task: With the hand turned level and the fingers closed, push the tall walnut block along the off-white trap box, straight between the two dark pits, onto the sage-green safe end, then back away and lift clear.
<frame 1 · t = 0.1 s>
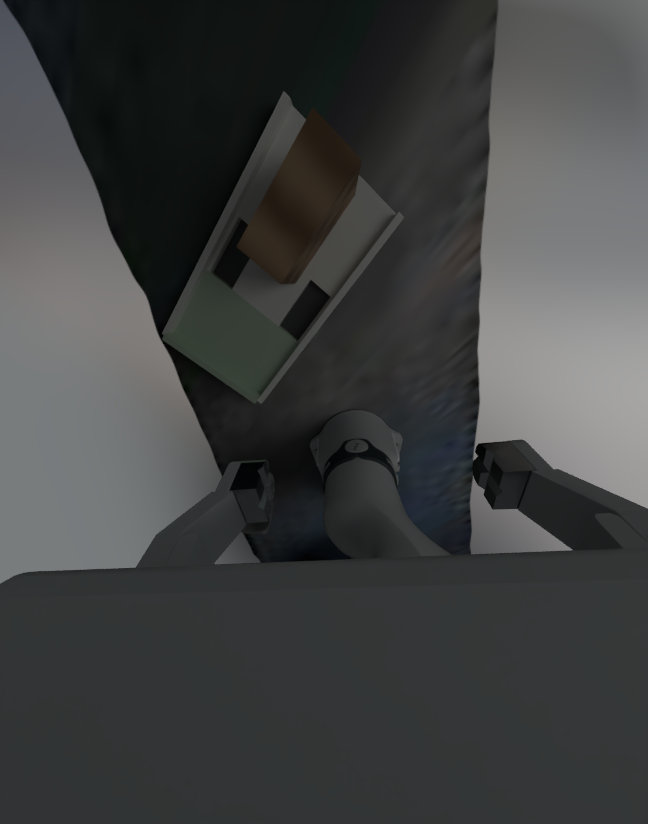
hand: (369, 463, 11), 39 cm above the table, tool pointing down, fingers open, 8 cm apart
mug: (263, 490, 63), on the table
trap box: (274, 281, 44), on the table
walnut block: (307, 227, 39), point 1 cm above the table, touching trap box
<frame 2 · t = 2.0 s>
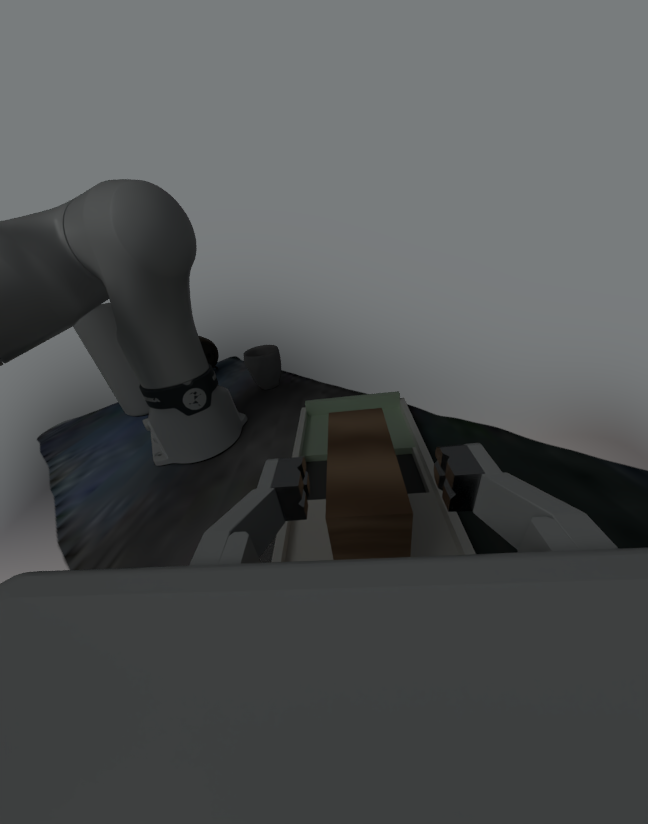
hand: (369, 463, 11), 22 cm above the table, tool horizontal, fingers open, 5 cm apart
alarm clock: (207, 374, 87), on the table
mug: (265, 384, 74), on the table
cylinder vase: (153, 405, 72), on the table
trap box: (360, 482, 39), on the table
walnut block: (366, 531, 31), point 1 cm above the table, touching trap box
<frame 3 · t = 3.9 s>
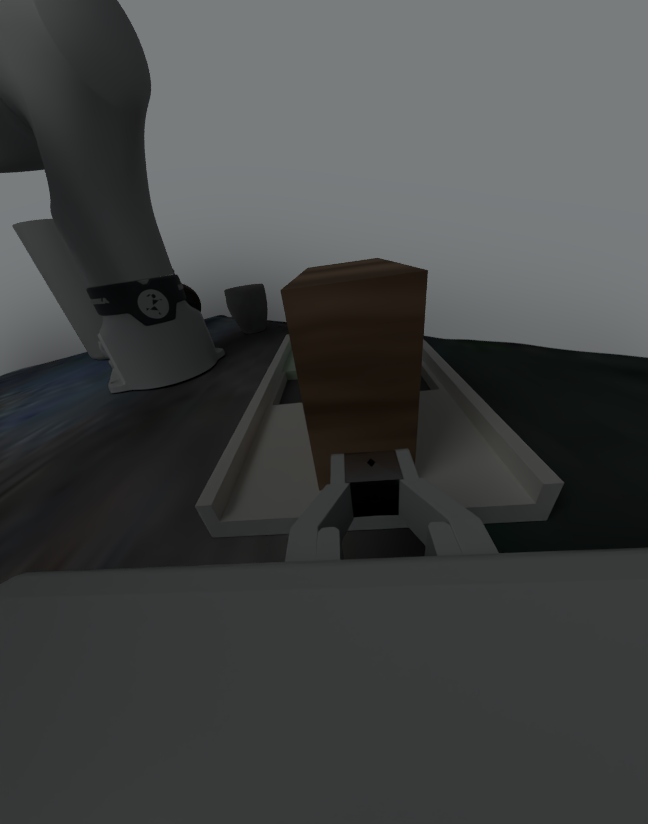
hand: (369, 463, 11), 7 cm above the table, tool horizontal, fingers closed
alarm clock: (188, 328, 79), on the table
mug: (250, 330, 66), on the table
cylinder vase: (124, 352, 64), on the table
trap box: (352, 392, 32), on the table
walnut block: (357, 425, 23), point 1 cm above the table, touching trap box
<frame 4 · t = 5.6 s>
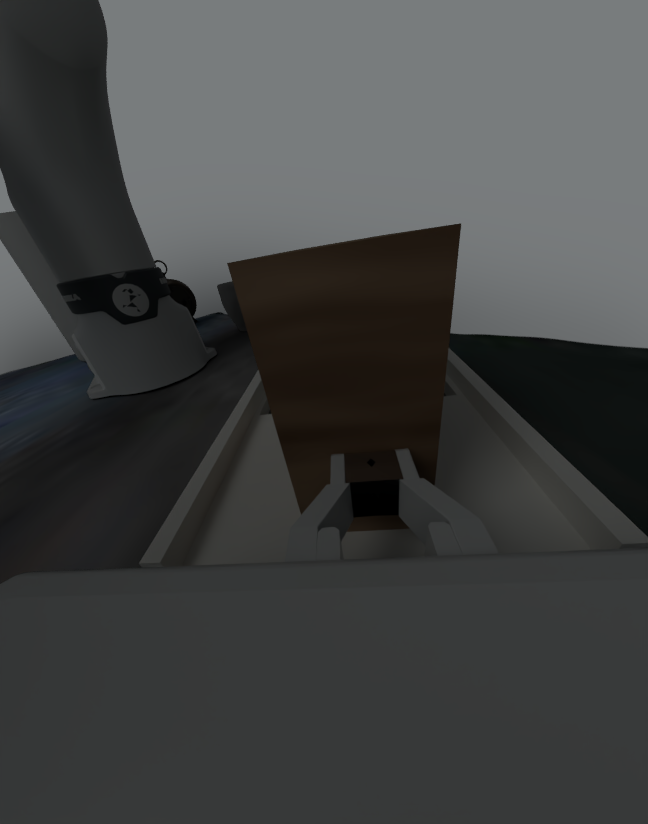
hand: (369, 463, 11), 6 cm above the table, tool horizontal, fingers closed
alarm clock: (183, 327, 75), on the table
mug: (247, 328, 62), on the table
cylinder vase: (114, 352, 61), on the table
trap box: (353, 397, 27), on the table
walnut block: (357, 441, 19), point 2 cm above the table, touching gripper
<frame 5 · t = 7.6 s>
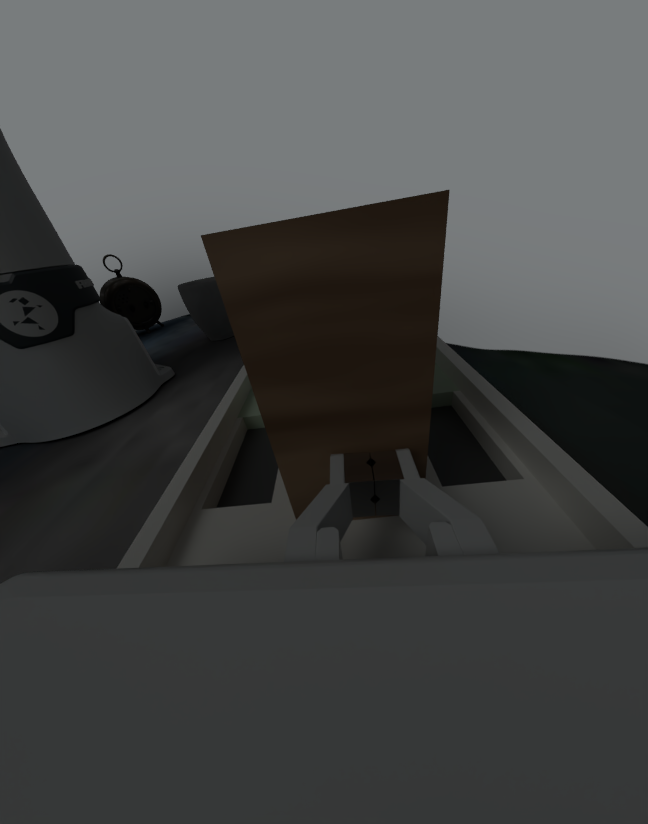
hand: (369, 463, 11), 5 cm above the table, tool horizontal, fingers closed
alarm clock: (147, 333, 65), on the table
mug: (219, 336, 52), on the table
trap box: (351, 462, 18), on the table
walnut block: (346, 431, 19), point 1 cm above the table, touching gripper, trap box
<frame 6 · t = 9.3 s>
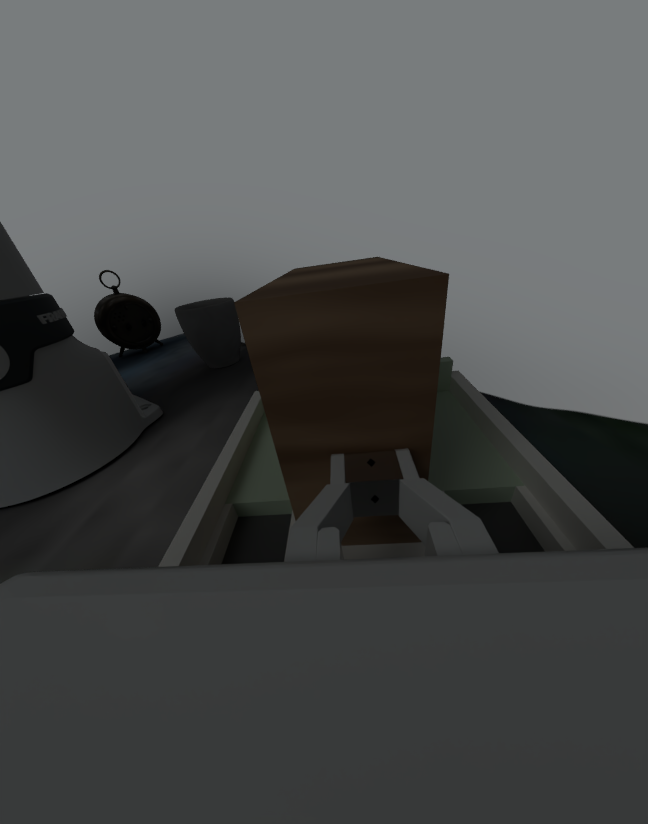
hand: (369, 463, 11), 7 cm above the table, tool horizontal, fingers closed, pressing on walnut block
alarm clock: (144, 352, 60), on the table
mug: (219, 362, 48), on the table
trap box: (379, 599, 13), on the table
walnut block: (353, 454, 20), point 1 cm above the table, touching gripper, trap box
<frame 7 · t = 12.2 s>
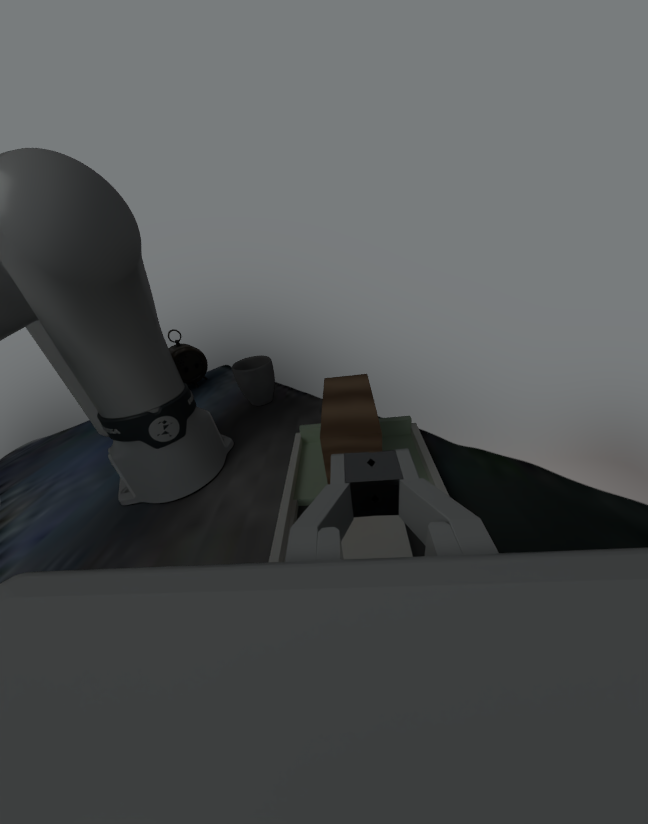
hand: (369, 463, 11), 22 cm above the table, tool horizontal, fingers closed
alarm clock: (195, 386, 79), on the table
mug: (258, 399, 66), on the table
cylinder vase: (131, 423, 64), on the table
trap box: (365, 538, 31), on the table
walnut block: (354, 474, 38), point 1 cm above the table, touching trap box
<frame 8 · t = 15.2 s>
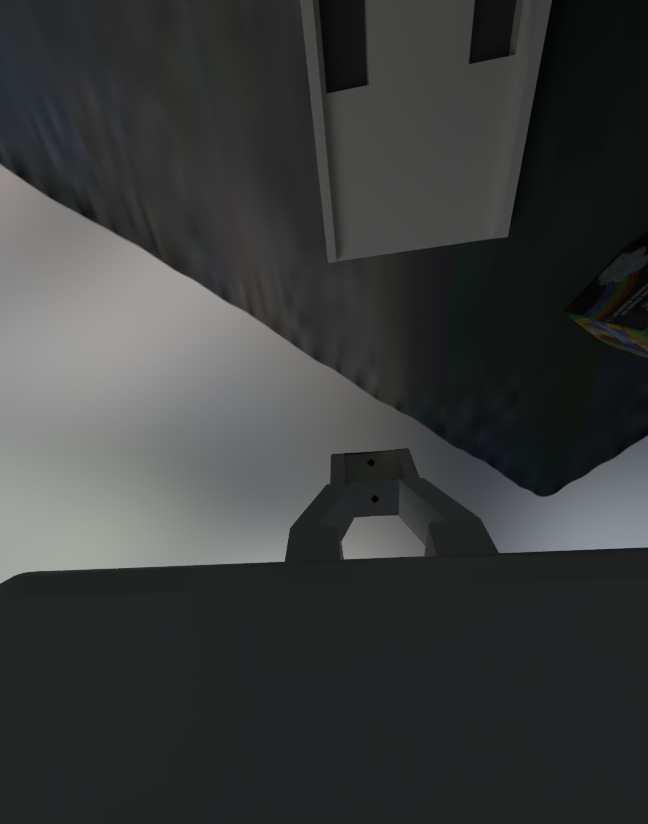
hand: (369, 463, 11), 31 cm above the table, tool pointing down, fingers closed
chalk box: (614, 297, 36), on the table
trap box: (415, 17, 24), on the table
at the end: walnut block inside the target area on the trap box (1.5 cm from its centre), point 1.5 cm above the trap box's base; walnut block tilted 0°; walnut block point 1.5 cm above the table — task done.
